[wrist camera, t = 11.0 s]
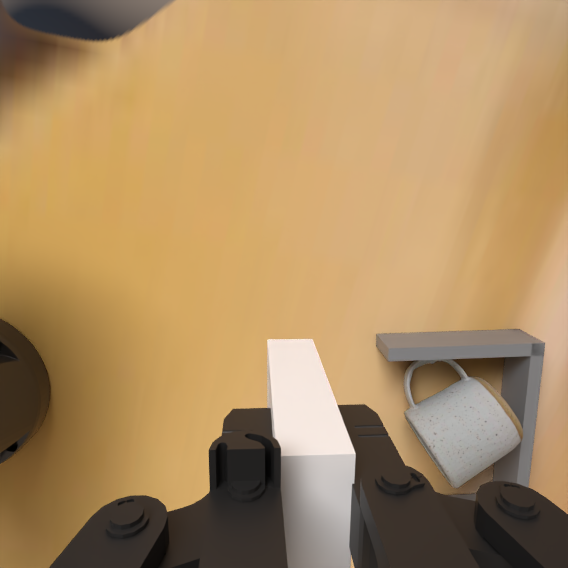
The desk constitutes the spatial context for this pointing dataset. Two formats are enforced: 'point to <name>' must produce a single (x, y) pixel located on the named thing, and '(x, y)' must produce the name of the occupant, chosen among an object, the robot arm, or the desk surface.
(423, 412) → the ceramic mug
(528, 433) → the grey c-shaped bracket
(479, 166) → the desk surface
